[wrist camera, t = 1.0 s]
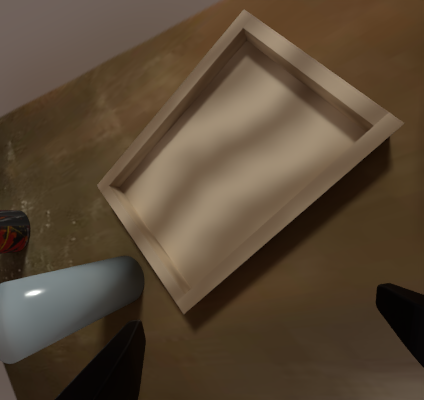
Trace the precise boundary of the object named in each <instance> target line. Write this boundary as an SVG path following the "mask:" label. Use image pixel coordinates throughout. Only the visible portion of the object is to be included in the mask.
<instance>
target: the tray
mask: <svg viewBox="0 0 424 400" xmlns="http://www.w3.org/2000/svg"><path fill="white" fill-rule="evenodd" d="M403 124H404V123H403V122H402V121H400V120H399V119H398V118H396V117H395V116H393V115H392V114H391V113H389V112H388V111H386V110H385V109H383V108H382V107H381V106H379V105H378V104H376V103H375V102H374V101H372V100H371V99H369V98H368V97H367V96H365V95H364V94H362V93H361V92H360V91H358V90H357V89H355V88H354V87H353V86H351V85H350V84H348V83H347V82H346V81H344V80H343V79H341V78H340V77H339V76H337V75H336V74H334V73H333V72H331V71H330V70H329V69H327V68H326V67H324V66H323V65H322V64H320V63H319V62H317V61H316V60H315V59H313V58H312V57H310V56H309V55H308V54H306V53H305V52H303V51H302V50H301V49H299V48H298V47H296V46H295V45H294V44H292V43H291V42H289V41H288V40H287V39H285V38H284V37H282V36H281V35H279V34H278V33H277V32H275V31H274V30H272V29H271V28H270V27H268V26H267V25H265V24H264V23H263V22H261V21H260V20H258V19H257V18H256V17H254V16H253V15H251V14H250V13H249V12H247V11H246V10H243V11H242V12H241V13H240V15H239V16H238V17H237V18H236V19H235V21H234V22H233V23H232V24H231V25H230V27H229V28H228V29H227V30H226V31H225V33H224V34H223V35H222V36H221V37H220V39H219V40H218V41H217V42H216V43H215V45H214V46H213V47H212V48H211V49H210V51H209V52H208V53H207V54H206V55H205V57H204V58H203V59H202V60H201V61H200V63H199V64H198V65H197V66H196V67H195V69H194V70H193V71H192V72H191V73H190V75H189V76H188V77H187V78H186V79H185V81H184V82H183V83H182V84H181V85H180V87H179V88H178V89H177V90H176V91H175V93H174V94H173V95H172V96H171V97H170V99H169V100H168V101H167V102H166V103H165V105H164V106H163V107H162V108H161V109H160V111H159V112H158V113H157V114H156V115H155V117H154V118H153V119H152V120H151V121H150V123H149V124H148V125H147V126H146V127H145V129H144V130H143V131H142V132H141V133H140V135H139V136H138V137H137V138H136V139H135V141H134V142H133V143H132V144H131V145H130V147H129V148H128V149H127V150H126V151H125V153H124V154H123V155H122V156H121V157H120V159H119V160H118V161H117V162H116V163H115V165H114V166H113V167H112V168H111V169H110V171H109V172H108V173H107V174H106V175H105V177H104V178H103V179H102V180H101V181H100V183H99V184H98V185H97V186H98V188H99V189H100V191H101V192H102V194H103V195H104V197H105V198H106V200H107V201H108V203H109V204H110V206H111V207H112V209H113V210H114V212H115V213H116V215H117V216H118V218H119V219H120V221H121V222H122V223H123V225H124V226H125V228H126V229H127V231H128V232H129V234H130V235H131V237H132V238H133V240H134V241H135V243H136V244H137V246H138V247H139V249H140V250H141V252H142V253H143V255H144V256H145V258H146V259H147V261H148V262H149V264H150V265H151V266H152V268H153V269H154V271H155V272H156V274H157V275H158V277H159V278H160V280H161V281H162V283H163V284H164V286H165V287H166V289H167V290H168V292H169V293H170V295H171V296H172V298H173V299H174V301H175V302H176V304H177V305H178V307H179V308H180V309H181V311H182V312H183V314H185V313H186V312H187V311H188V310H189V309H191V308H192V307H193V306H194V305H195V304H197V303H198V302H199V301H200V300H201V299H202V298H203V297H205V296H206V295H207V294H208V293H209V292H210V291H212V290H213V289H214V288H215V287H216V286H217V285H218V284H220V283H221V282H222V281H223V280H224V279H225V278H227V277H228V276H229V275H230V274H231V273H232V272H233V271H235V270H236V269H237V268H238V267H239V266H240V265H242V264H243V263H244V262H245V261H246V260H247V259H248V258H250V257H251V256H252V255H253V254H254V253H255V252H257V251H258V250H259V249H260V248H261V247H262V246H263V245H265V244H266V243H267V242H268V241H269V240H270V239H272V238H273V237H274V236H275V235H276V234H277V233H278V232H280V231H281V230H282V229H283V228H284V227H285V226H287V225H288V224H289V223H290V222H291V221H292V220H294V219H295V218H296V217H297V216H298V215H299V214H300V213H302V212H303V211H304V210H305V209H306V208H307V207H309V206H310V205H311V204H312V203H313V202H314V201H315V200H317V199H318V198H319V197H320V196H321V195H322V194H324V193H325V192H326V191H327V190H328V189H329V188H330V187H332V186H333V185H334V184H335V183H336V182H337V181H339V180H340V179H341V178H342V177H343V176H344V175H345V174H347V173H348V172H349V171H350V170H351V169H352V168H354V167H355V166H356V165H357V164H358V163H359V162H360V161H362V160H363V159H364V158H365V157H366V156H367V155H369V154H370V153H371V152H372V151H373V150H374V149H375V148H377V147H378V146H379V145H380V144H381V143H382V142H384V141H385V140H386V139H387V138H388V137H389V136H390V135H392V134H393V133H394V132H395V131H396V130H397V129H398V128H400V127H401V126H402V125H403Z"/></svg>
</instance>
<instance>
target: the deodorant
mask: <svg viewBox="0 0 424 400" xmlns="http://www.w3.org/2000/svg"><path fill="white" fill-rule="evenodd" d="M29 236H30V224H29V220H28V218H27V216H26V215H25V213H23V212H22V211H13V210H0V254H1V253H10V252H17V251H20V250H22V249H23V248H24V247H25V246H26V244H27V242H28V240H29Z"/></svg>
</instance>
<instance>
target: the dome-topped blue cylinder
mask: <svg viewBox="0 0 424 400" xmlns="http://www.w3.org/2000/svg"><path fill="white" fill-rule="evenodd" d="M143 288H144V274H143V271H142V268H141V266H140V265H139V263H138V262H137V261H136V260H135V259H133V258H132V257H129V256H120V257H115V258H111V259H106V260H102V261H97V262H93V263H88V264H84V265H79V266H75V267H70V268H66V269H61V270H57V271H52V272H48V273H43V274H39V275H34V276H30V277H25V278H21V279H16V280H12V281H7V282H3V283H1V284H0V360H1V361H2V362H4V363H8V364H12V363H16V362H18V361H20V360H22V359H24V358H25V357H27V356H29V355H31V354H33V353H35V352H37V351H39V350H41V349H43V348H45V347H47V346H49V345H51V344H53V343H54V342H56V341H58V340H60V339H62V338H64V337H66V336H68V335H70V334H72V333H74V332H76V331H78V330H80V329H82V328H84V327H85V326H87V325H89V324H91V323H93V322H95V321H97V320H99V319H101V318H103V317H105V316H107V315H109V314H111V313H113V312H115V311H116V310H118V309H120V308H122V307H124V306H126V305H128V304H130V303H132V302H134V301H135V300H137V299H138V298H139V296H140V295H141V293H142V291H143Z"/></svg>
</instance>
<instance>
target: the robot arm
mask: <svg viewBox="0 0 424 400" xmlns="http://www.w3.org/2000/svg"><path fill="white" fill-rule="evenodd" d="M376 306H377V308H378V310H379V311H380V313H381V314H382V316H383V317H384V318H385V320H386V321H387V322H388V324H389V325H390V326H391V328H392V329H393V330H394V332H395V333H396V334H397V336H398V337H399V338H400V340H401V341H402V342H403V344H404V345H405V346H406V347H407V349H408V350H409V351H410V352H411V354H412V355H413V356H414V357H415V358H416V359H417V361H418V362H419V363H420V364H421V365H422V366H423V367H424V295H423V294H420V293H417V292H414V291H411V290H408V289H405V288H402V287H400V286H397V285H394V284H391V283H386V284H380V285H378V287H377V293H376ZM145 344H146V339H145V334H144V329H143V325H142V322H141V320H132V321H129V322H128V323H127V324H126V325H125V326H124V327H123V328H122V329H121V330H120V331H119V332H118V333H117V334H116V335H115V336H114V337H113V339H112V340H111V341H110V342H109V343H108V344H107V345H106V346H105V347H104V348H103V349H102V350H101V351H100V352H99V353H98V354H97V355H96V356H95V357H94V359H93V360H92V361H91V362H90V363H89V364H88V365H87V366H86V367H85V368H84V369H83V370H82V371H81V372H80V373H79V374H78V375H77V376H76V377H75V378H74V380H73V381H72V382H71V383H70V384H69V385H68V386H67V387H66V388H65V389H64V390H63V391H62V392H61V393H60V394H59V395H58V396H57V397H56V398H55V400H138V396H139V390H140V384H141V376H142V368H143V360H144V353H145Z"/></svg>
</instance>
